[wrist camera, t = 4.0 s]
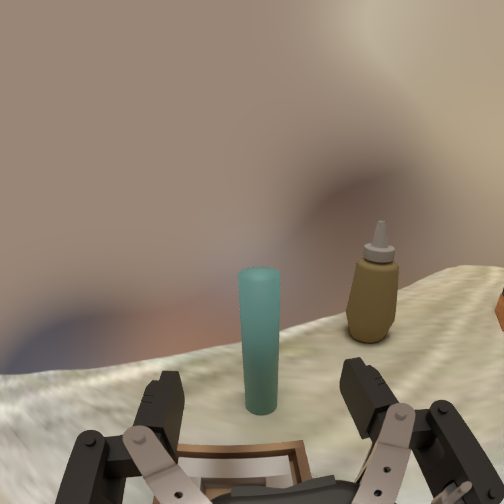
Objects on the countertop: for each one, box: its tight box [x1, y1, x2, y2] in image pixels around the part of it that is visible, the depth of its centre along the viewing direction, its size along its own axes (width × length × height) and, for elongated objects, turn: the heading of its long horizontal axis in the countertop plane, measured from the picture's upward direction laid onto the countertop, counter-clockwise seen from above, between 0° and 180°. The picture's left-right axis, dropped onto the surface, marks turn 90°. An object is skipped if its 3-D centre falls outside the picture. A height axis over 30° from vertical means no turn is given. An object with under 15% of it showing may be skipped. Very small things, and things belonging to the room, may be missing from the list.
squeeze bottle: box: [346, 221, 399, 343], centre depth 37 cm, size 8×8×18 cm
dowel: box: [238, 267, 280, 415], centre depth 25 cm, size 4×4×16 cm
